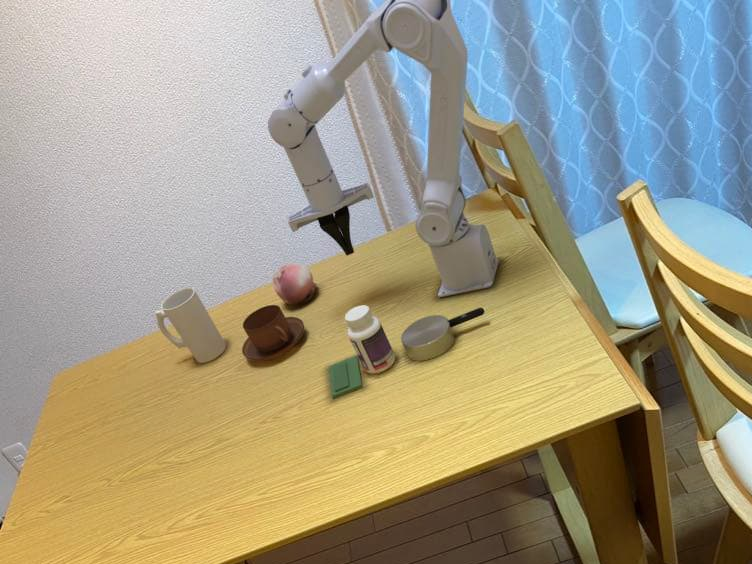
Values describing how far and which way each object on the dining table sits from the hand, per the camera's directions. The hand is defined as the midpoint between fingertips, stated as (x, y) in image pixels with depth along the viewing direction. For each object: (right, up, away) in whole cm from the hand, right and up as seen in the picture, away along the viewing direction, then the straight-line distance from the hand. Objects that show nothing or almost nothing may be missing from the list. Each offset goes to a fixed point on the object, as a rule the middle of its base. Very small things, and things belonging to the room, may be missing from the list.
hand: (349, 251), depth 146 cm
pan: (+16, -18, -12) cm, 26 cm away
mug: (-28, -14, +15) cm, 35 cm away
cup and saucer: (-13, -15, +7) cm, 21 cm away
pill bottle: (+6, -21, -10) cm, 24 cm away
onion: (-10, -4, +16) cm, 19 cm away
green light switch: (0, -23, -9) cm, 25 cm away
